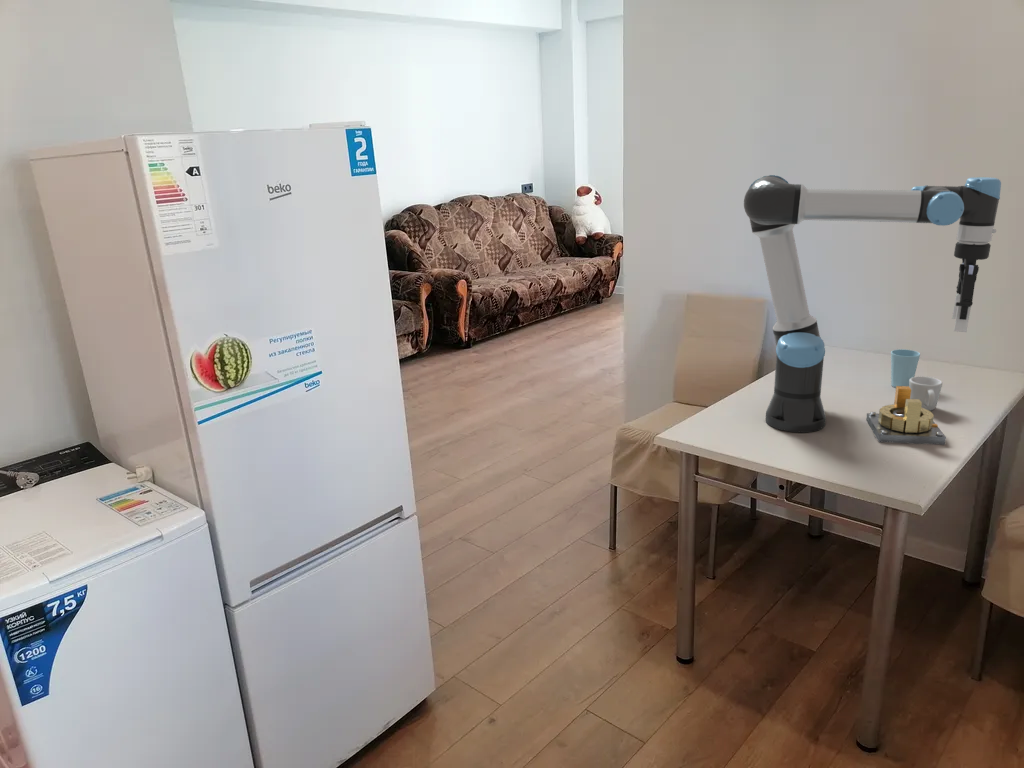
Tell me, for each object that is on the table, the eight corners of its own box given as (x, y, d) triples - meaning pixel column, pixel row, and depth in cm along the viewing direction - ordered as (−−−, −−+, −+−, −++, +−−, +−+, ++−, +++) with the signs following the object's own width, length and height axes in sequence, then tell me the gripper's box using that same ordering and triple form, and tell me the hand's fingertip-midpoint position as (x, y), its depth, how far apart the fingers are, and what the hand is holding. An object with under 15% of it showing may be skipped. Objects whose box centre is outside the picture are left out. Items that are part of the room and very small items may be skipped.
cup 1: (889, 389, 225) (893, 356, 221) (885, 381, 232) (889, 348, 228) (918, 391, 222) (922, 357, 219) (913, 382, 229) (917, 349, 226)
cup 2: (946, 417, 202) (950, 389, 200) (913, 416, 204) (917, 388, 202) (933, 403, 212) (937, 376, 210) (902, 402, 214) (905, 375, 212)
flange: (878, 442, 189) (881, 422, 188) (866, 420, 203) (868, 401, 202) (944, 444, 186) (947, 425, 184) (927, 422, 200) (930, 403, 198)
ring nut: (885, 431, 190) (888, 401, 187) (874, 414, 201) (877, 385, 198) (937, 433, 187) (942, 403, 184) (923, 415, 198) (927, 386, 196)
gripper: (995, 250, 176) (978, 338, 183) (987, 235, 197) (973, 315, 204) (958, 248, 179) (943, 335, 186) (954, 234, 200) (941, 312, 207)
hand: (958, 325), depth 195 cm, fingers open, 13 cm apart
